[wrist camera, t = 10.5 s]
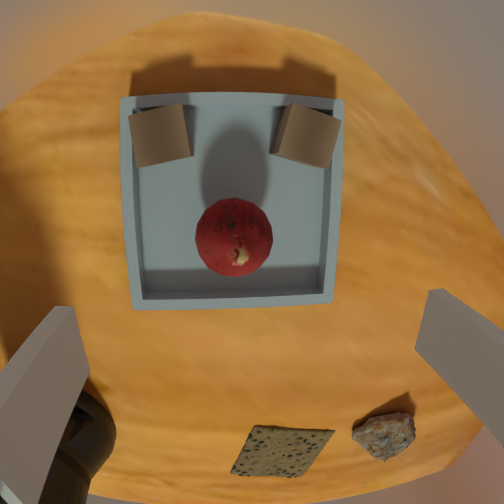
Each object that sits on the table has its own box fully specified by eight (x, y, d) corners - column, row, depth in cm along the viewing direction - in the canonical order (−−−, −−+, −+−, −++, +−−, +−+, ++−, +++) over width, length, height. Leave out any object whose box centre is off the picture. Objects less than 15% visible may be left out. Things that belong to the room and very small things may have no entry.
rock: (417, 413, 41) (395, 401, 36) (429, 444, 36) (408, 438, 31) (371, 437, 44) (342, 429, 39) (380, 467, 39) (351, 465, 34)
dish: (138, 298, 29) (133, 310, 27) (128, 102, 24) (120, 97, 22) (323, 292, 31) (332, 302, 29) (333, 104, 26) (343, 100, 24)
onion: (189, 198, 26) (186, 221, 19) (257, 185, 27) (280, 202, 19) (202, 262, 28) (205, 306, 21) (266, 249, 29) (291, 288, 21)
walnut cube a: (147, 166, 25) (137, 168, 22) (139, 121, 24) (127, 115, 20) (194, 156, 26) (190, 156, 22) (185, 110, 24) (181, 102, 21)
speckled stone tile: (302, 474, 42) (304, 479, 41) (228, 471, 39) (229, 476, 38) (336, 427, 39) (338, 432, 38) (253, 422, 36) (254, 427, 35)
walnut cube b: (268, 153, 26) (278, 153, 22) (281, 109, 25) (292, 102, 21) (312, 166, 27) (328, 169, 23) (324, 124, 26) (342, 120, 22)
